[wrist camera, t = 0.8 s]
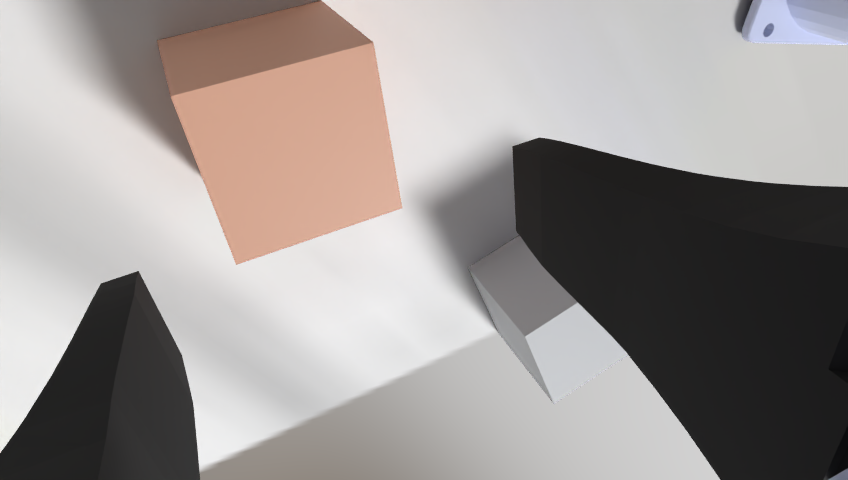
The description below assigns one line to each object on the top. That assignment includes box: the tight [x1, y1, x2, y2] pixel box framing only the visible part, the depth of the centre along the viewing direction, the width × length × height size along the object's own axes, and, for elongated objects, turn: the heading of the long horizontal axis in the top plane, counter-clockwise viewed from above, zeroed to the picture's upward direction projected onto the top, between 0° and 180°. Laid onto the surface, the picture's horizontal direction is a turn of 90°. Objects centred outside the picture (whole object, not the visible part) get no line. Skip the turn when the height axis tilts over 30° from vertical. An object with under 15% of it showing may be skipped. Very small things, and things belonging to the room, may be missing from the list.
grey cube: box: [468, 235, 628, 404], centre depth 25 cm, size 4×4×4 cm
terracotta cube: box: [157, 1, 402, 265], centre depth 16 cm, size 4×4×4 cm
